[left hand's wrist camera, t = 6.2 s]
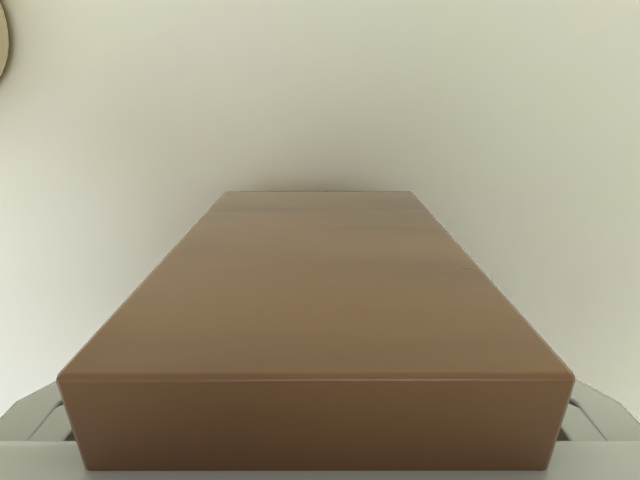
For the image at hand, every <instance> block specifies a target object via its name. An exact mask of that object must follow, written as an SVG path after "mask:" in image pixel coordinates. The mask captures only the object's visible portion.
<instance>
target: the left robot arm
mask: <svg viewBox="0 0 640 480" xmlns="http://www.w3.org/2000/svg"><path fill="white" fill-rule="evenodd" d="M0 480H640V423H639V422H638V421H637V420H636V419H635V418H634V417H633V416H632V415H631V414H630V413H629V412H628V411H627V410H626V409H625V408H624V407H623V406H622V405H621V403H620V402H618V401H616V400H614V399H612V398H610V397H608V396H606V395H604V394H603V393H601V392H599V391H597V390H595V389H593V388H591V387H589V386H587V385H585V384H584V383H582V382H580V381H578V380H576V379H575V385H574V388H573V391H572V394H571V397H570V400H569V404H568V407H567V410H566V413H565V416H564V419H563V422H562V425H561V428H560V431H559V434H558V437H557V441H556V444H555V447H554V450H553V453H552V456H551V459H550V462H549V465H548V468H547V469H546V470H544V471H88V470H86V469H85V467H84V464H83V461H82V458H81V455H80V452H79V449H78V446H77V443H76V440H75V437H74V434H73V431H72V428H71V425H70V422H69V419H68V416H67V413H66V410H65V407H64V404H63V401H62V398H61V395H60V392H59V389H58V387H57V384H56V381H55V382H53V383H51V384H50V385H48V386H46V387H44V388H42V389H40V390H38V391H36V392H34V393H32V394H30V395H28V396H26V397H25V398H23V399H21V400H19V401H17V402H16V403H15V404H14V405H13V406H12V407H11V408H10V409H9V410H8V411H7V412H6V413H5V414H4V415H3V416H2V417H1V418H0Z"/></svg>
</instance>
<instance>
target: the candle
mask: <svg viewBox="0 0 640 480" xmlns="http://www.w3.org/2000/svg"><path fill="white" fill-rule="evenodd" d="M8 49H9V34H8V28H7V22H6V18H5V15H4V11H3V8H2V6H1V3H0V76H1V74H2V72H3V70H4V68H5V65H6V61H7V57H8Z"/></svg>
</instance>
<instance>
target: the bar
mask: <svg viewBox="0 0 640 480" xmlns="http://www.w3.org/2000/svg"><path fill="white" fill-rule="evenodd" d="M56 384H57V387H58V389H59V392H60V395H61V398H62V401H63V404H64V407H65V410H66V413H67V416H68V419H69V422H70V425H71V428H72V431H73V434H74V437H75V440H76V443H77V446H78V449H79V452H80V455H81V458H82V461H83V464H84V467H85V469H86V470H88V471H544V470H546V469H547V468H548V465H549V462H550V459H551V456H552V453H553V450H554V447H555V444H556V441H557V437H558V434H559V431H560V428H561V425H562V422H563V419H564V416H565V413H566V410H567V407H568V404H569V400H570V397H571V394H572V391H573V388H574V385H575V376H574V374H573V372H572V371H571V370H570V369H569V368H568V367H567V365H566V364H565V363H564V362H563V361H562V360H561V359H560V358H559V357H558V355H557V354H556V353H555V352H554V351H553V350H552V349H551V348H550V346H549V345H548V344H547V343H546V342H545V341H544V340H543V339H542V338H541V336H540V335H539V334H538V333H537V332H536V331H535V330H534V329H533V327H532V326H531V325H530V324H529V323H528V322H527V321H526V320H525V319H524V317H523V316H522V315H521V314H520V313H519V312H518V311H517V310H516V308H515V307H514V306H513V305H512V304H511V303H510V302H509V301H508V300H507V298H506V297H505V296H504V295H503V294H502V293H501V292H500V291H499V289H498V288H497V287H496V286H495V285H494V284H493V283H492V282H491V281H490V279H489V278H488V277H487V276H486V275H485V274H484V273H483V272H482V270H481V269H480V268H479V267H478V266H477V265H476V264H475V263H474V261H473V260H472V259H471V258H470V257H469V256H468V255H467V254H466V253H465V251H464V250H463V249H462V248H461V247H460V246H459V245H458V244H457V242H456V241H455V240H454V239H453V238H452V237H451V236H450V235H449V234H448V232H447V231H446V230H445V229H444V228H443V227H442V226H441V225H440V223H439V222H438V221H437V220H436V219H435V218H434V217H433V216H432V215H431V213H430V212H429V211H428V210H427V209H426V208H425V207H424V206H423V204H422V203H421V202H420V201H419V200H418V199H417V198H416V197H415V196H414V194H413V193H412V192H225V193H224V194H223V195H222V196H221V197H220V199H219V200H218V201H217V202H216V203H215V204H214V205H213V206H212V207H211V208H210V209H209V210H208V212H207V213H206V214H205V215H204V216H203V217H202V218H201V219H200V220H199V221H198V222H197V224H196V225H195V226H194V227H193V228H192V229H191V230H190V231H189V232H188V233H187V234H186V236H185V237H184V238H183V239H182V240H181V241H180V242H179V243H178V244H177V245H176V246H175V247H174V249H173V250H172V251H171V252H170V253H169V254H168V255H167V256H166V257H165V258H164V259H163V261H162V262H161V263H160V264H159V265H158V266H157V267H156V268H155V269H154V270H153V271H152V272H151V274H150V275H149V276H148V277H147V278H146V279H145V280H144V281H143V282H142V283H141V284H140V286H139V287H138V288H137V289H136V290H135V291H134V292H133V293H132V294H131V295H130V296H129V298H128V299H127V300H126V301H125V302H124V303H123V304H122V305H121V306H120V307H119V308H118V309H117V311H116V312H115V313H114V314H113V315H112V316H111V317H110V318H109V319H108V320H107V321H106V323H105V324H104V325H103V326H102V327H101V328H100V329H99V330H98V331H97V332H96V333H95V334H94V336H93V337H92V338H91V339H90V340H89V341H88V342H87V343H86V344H85V345H84V346H83V348H82V349H81V350H80V351H79V352H78V353H77V354H76V355H75V356H74V357H73V358H72V360H71V361H70V362H69V363H68V364H67V365H66V366H65V367H64V368H63V369H62V370H61V371H60V373H59V374H58V376H57V380H56Z"/></svg>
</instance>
